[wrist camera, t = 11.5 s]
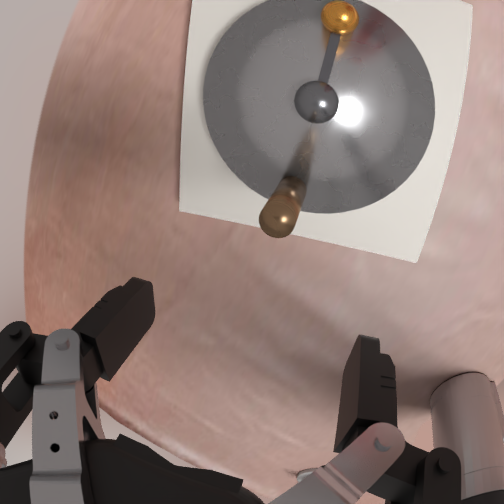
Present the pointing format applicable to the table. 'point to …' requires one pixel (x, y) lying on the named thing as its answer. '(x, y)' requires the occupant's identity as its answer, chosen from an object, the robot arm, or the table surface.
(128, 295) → the robot arm
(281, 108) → the grey round piece
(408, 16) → the stand
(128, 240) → the table surface
